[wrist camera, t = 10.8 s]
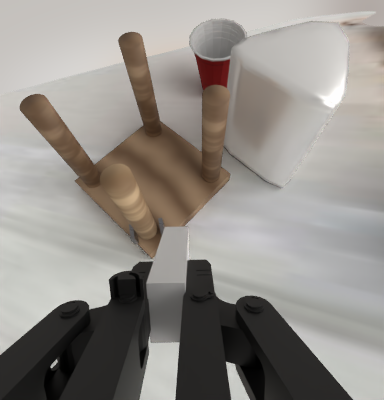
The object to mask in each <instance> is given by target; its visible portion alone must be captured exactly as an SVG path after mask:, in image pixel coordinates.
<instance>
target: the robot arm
mask: <svg viewBox="0 0 384 400" xmlns="http://www.w3.org/2000/svg"><path fill="white" fill-rule="evenodd" d="M109 284H110V293H111V300H110V302H109V303H108V305H106V306H102V307H99V308H94V309H90V310H89V305H88V304H87V302H84V301H81V300H75V301H69V302H67V303H64V304H62V305H60V306H58V307H57V308H55V309H54V310H53V311H52V312H51V313H49V314H48V315H47V316H46V317H45V318H44V319H42V320H41V321H40V322H39V323H38V324H36V325H35V326H34V327H33V328H32V329H31V330H29V331H28V332H27V333H26V334H25V335H23V336H22V337H21V338H20V339H19V340H18V341H16V342H15V343H14V344H13V345H12V346H10V347H9V348H8V349H7V350H6V351H5V352H3V353H2V354H1V355H0V400H139V398H140V393H141V388H142V384H143V379H144V374H145V369H146V364H147V359H148V355H149V347H148V340H149V336H150V339H151V343H162V342H180V345H179V359H178V373H177V386H176V400H231V396H230V389H229V382H228V375H227V367H226V362H230V363H233V364H235V366H236V370H237V372H238V374H239V377H240V379H241V381H242V383H243V385H244V387H245V390H246V392H247V394H248V396H249V398H250V400H353V399H352V398H351V397H350V396H349V394H348V393H347V392H346V391H345V390H344V389H343V387H342V386H341V385H340V384H339V383H338V382H337V381H336V379H335V378H334V377H333V376H332V375H331V374H330V372H329V371H328V370H327V369H326V368H325V367H324V365H323V364H322V363H321V362H320V361H319V360H318V358H317V357H316V356H315V355H314V354H313V353H312V351H311V350H310V349H309V348H308V347H307V346H306V344H305V343H304V342H303V341H302V340H301V339H300V337H299V336H298V335H297V334H296V333H295V332H294V330H293V329H292V328H291V327H290V326H289V325H288V323H287V322H286V321H285V320H284V319H283V318H282V317H281V315H280V314H279V313H278V312H277V311H276V310H275V308H274V307H273V306H272V305H271V304H270V303H269V302H268V301H267V300H265V299H263V298H261V297H257V296H245V297H242V298H240V299H239V300H238V301H237V302H236V305H235V304H230V303H227V302H224V301H222V300H220V299H219V298H218V297H217V296H216V294H215V292H214V285H213V278H212V271H211V264H210V263H209V262H208V261H207V260H189V232H188V226H182V227H165V228H164V231H163V234H162V237H161V240H160V243H159V246H158V249H157V252H156V255H155V258H154V261H153V262H139V263H138V264H136V265H135V266H134V267H133V269H132V271H124V272H120V273H117V274H115V275H114V276H112V277H111V278H110V279H109ZM56 359H57V361H58V363H57V364H56V365H55V366H54V367H53V368H50V366H51V365H52V363H53V362H54V361H55V360H56Z"/></svg>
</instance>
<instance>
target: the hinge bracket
mask: <svg viewBox="0 0 384 400" xmlns="http://www.w3.org/2000/svg"><path fill="white" fill-rule="evenodd" d="M158 220H159V226H160V232H161V235H162V234H163V231H164V228H165V224H164V221H163V219H162V218H158ZM129 230H130V239H131V240H132V241H133V242H134V243H135V244H139V240H138V234H137V233H136V231H135V230H134V229H133V227H132V226H131V225H130V224H129Z"/></svg>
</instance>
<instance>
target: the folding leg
mask: <svg viewBox="0 0 384 400" xmlns="http://www.w3.org/2000/svg"><path fill="white" fill-rule="evenodd" d="M100 184H101V186H102V187H103V188H104V190H105V191H106V192H107V194H108V195H109V196H110V198H111V199H112V200H113V202H114V203H115V205H116V206H117V207H118V209H119V210H120V211H121V213H122V214H123V215H124V217H125V218H126V219H127V221H128V222H129V223H130V225H131V226H132V227H133V229H134V230H135V231H136V233H137V234H138V235H139V237H140V238H142V239H146V240H147V239H151V238H153V237H154V236H155V235H156V233H157V230H158V227H157V224H156V222H155V220H154V218H153V216H152V214H151V212H150V210H149V208H148V206H147V203H146V201H145V199H144V197H143V195H142V193H141V191H140V189H139V187H138V185H137V182H136V180H135V178H134V176H133V174H132V172H131V170H130V169H129V167H127V166H126V165H124V164H113V165H110V166H108V167H107V168H105V169H104V170H103V172H102V173H101V175H100Z"/></svg>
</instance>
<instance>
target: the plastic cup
mask: <svg viewBox="0 0 384 400" xmlns="http://www.w3.org/2000/svg"><path fill="white" fill-rule="evenodd" d="M244 38H247V33H246V31H245V30H244V28H243V27H242V26H241V25H240V24H238V23H236V22H234V21H232V20H228V19H211V20H208V21H206V22H203V23H201V24H200V25H198V26H197V27H196V28H194V30H193V32H192V33H191V35H190V41H189V45H190V47H191V49H192V50H193V52H194V54H195V57H196V60H197V65H198V70H199V75H200V79H201V83H202V88H203V90H205V89H206V88H207V87H208V86H211V85H221V86H224V87H226V88H227V83H228V74H229V66H230V57H231V48H232V47H233V46H234V45H236V44H237V43H239V42H240V41H241V40H243V39H244Z"/></svg>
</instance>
